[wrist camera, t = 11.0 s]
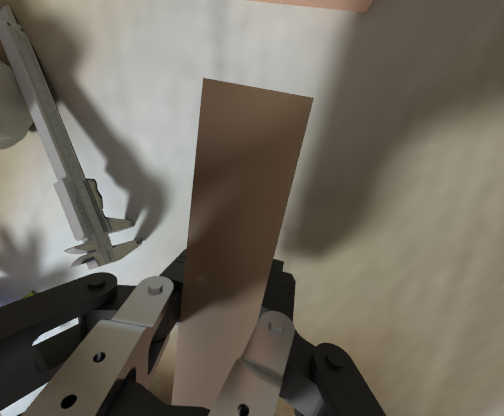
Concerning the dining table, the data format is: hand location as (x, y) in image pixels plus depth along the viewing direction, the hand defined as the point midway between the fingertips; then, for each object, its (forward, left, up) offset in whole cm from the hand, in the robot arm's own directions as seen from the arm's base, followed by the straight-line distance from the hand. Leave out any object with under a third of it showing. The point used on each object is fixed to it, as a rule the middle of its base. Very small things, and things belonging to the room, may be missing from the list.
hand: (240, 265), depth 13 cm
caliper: (+17, -3, -8) cm, 19 cm away
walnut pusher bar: (0, 0, -1) cm, 1 cm away
